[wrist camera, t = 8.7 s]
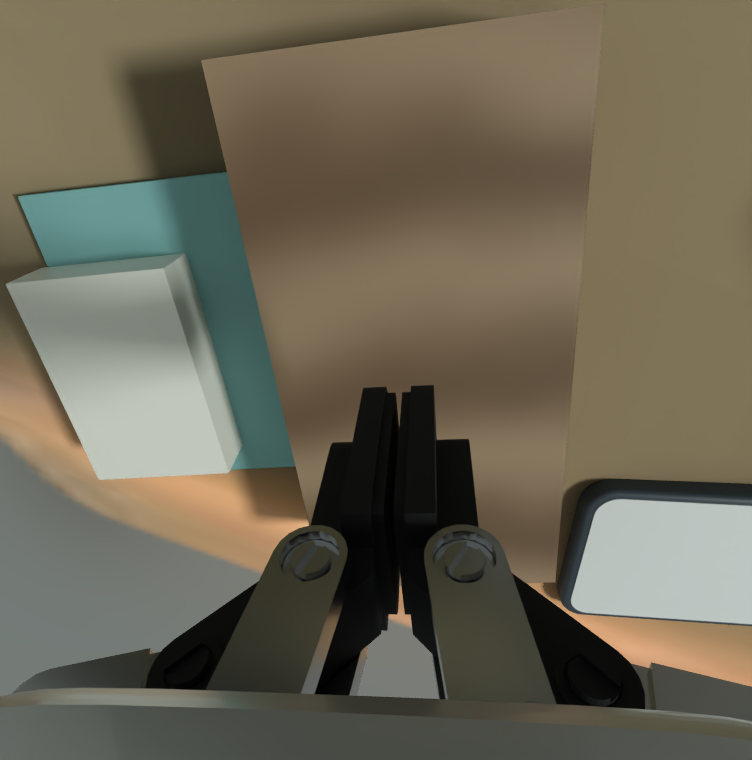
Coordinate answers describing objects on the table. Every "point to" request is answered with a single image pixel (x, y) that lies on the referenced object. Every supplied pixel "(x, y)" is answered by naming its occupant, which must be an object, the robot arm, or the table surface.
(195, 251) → the mat
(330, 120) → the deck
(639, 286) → the table surface
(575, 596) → the smartphone
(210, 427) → the white box
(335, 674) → the robot arm
